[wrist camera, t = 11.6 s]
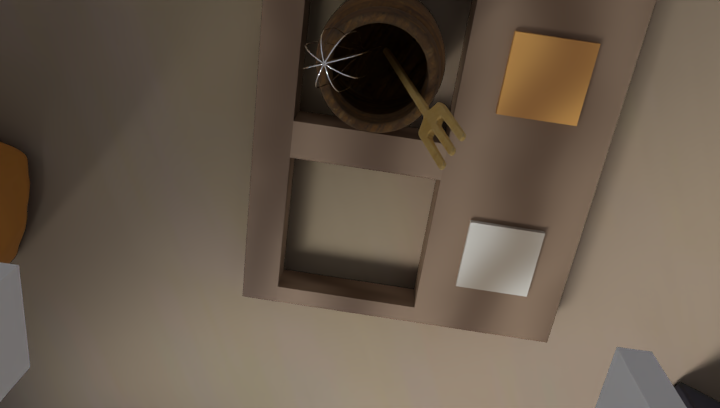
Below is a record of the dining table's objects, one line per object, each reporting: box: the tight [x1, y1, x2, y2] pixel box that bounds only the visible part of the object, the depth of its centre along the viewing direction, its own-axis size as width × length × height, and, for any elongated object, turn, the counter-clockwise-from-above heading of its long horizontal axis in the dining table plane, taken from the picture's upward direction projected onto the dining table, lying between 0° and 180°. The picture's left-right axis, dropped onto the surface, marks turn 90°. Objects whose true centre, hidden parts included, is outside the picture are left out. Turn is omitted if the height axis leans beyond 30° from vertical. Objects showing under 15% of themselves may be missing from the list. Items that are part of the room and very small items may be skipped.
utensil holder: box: [303, 0, 466, 170], centre depth 26 cm, size 6×6×12 cm
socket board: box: [243, 0, 656, 342], centre depth 32 cm, size 18×20×2 cm
